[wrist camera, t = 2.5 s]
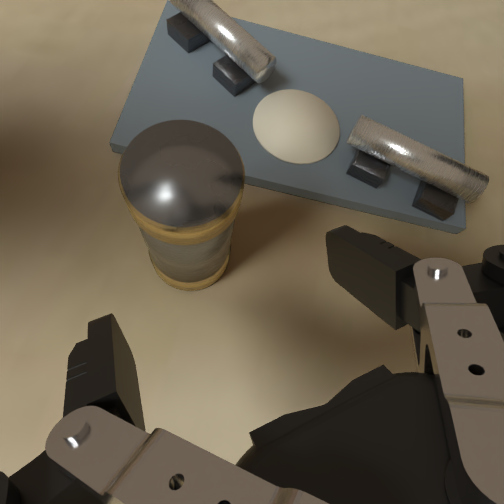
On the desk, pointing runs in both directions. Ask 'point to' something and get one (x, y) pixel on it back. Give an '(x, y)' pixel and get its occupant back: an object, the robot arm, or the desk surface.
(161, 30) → the board
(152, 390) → the desk surface
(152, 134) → the banded tin drum
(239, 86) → the shaft
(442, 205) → the shaft
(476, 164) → the desk surface
